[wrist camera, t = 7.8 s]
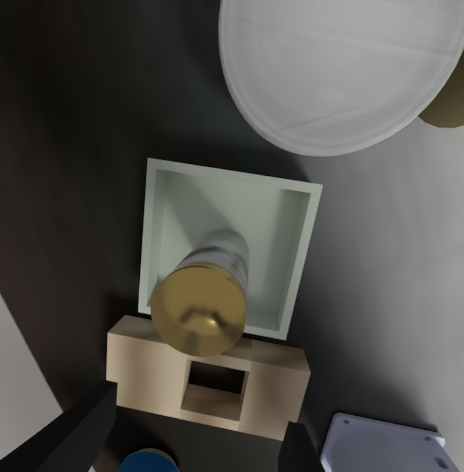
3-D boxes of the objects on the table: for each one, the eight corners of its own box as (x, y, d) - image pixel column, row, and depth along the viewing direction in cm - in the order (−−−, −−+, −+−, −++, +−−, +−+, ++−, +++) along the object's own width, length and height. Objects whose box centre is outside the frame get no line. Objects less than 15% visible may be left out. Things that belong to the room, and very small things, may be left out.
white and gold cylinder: (253, 233, 17) (253, 277, 9) (245, 282, 18) (238, 364, 10) (201, 225, 17) (153, 261, 9) (196, 273, 18) (148, 347, 10)
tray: (312, 184, 16) (323, 184, 14) (281, 319, 19) (285, 340, 16) (163, 161, 17) (147, 157, 14) (152, 295, 20) (138, 312, 17)
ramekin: (396, -54, 13) (487, -204, 8) (405, 144, 15) (482, 123, 10) (212, 5, 15) (191, -92, 10) (245, 178, 17) (241, 175, 12)
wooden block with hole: (303, 349, 19) (310, 372, 17) (286, 412, 21) (291, 442, 19) (125, 314, 20) (107, 332, 18) (122, 378, 22) (105, 402, 19)
